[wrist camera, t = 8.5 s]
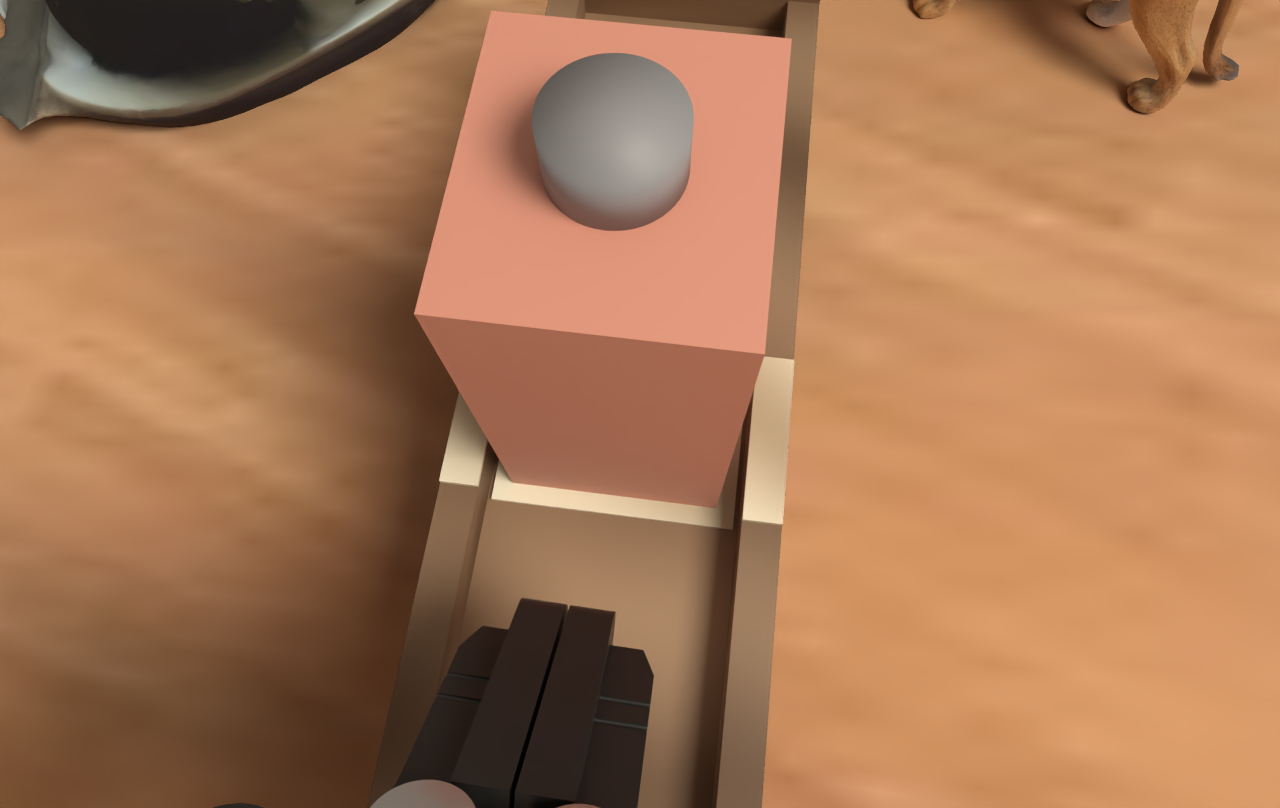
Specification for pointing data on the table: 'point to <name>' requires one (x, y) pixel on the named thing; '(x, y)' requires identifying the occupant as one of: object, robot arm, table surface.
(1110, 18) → the lion figurine
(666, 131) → the rider
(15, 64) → the salad plate
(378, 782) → the beam
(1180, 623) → the table surface
